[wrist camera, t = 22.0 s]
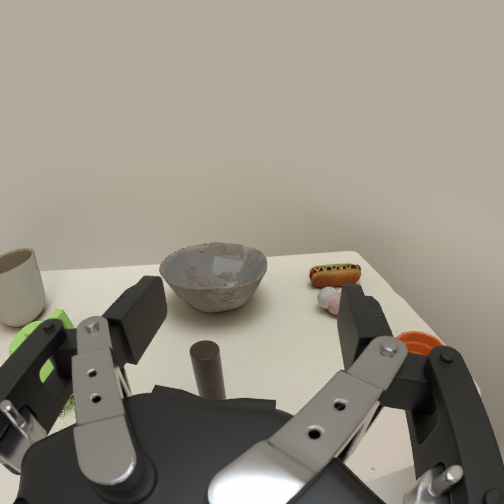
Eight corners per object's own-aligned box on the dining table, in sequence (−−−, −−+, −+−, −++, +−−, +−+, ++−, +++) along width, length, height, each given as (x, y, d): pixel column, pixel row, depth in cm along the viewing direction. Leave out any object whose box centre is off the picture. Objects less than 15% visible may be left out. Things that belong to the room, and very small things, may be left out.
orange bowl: (448, 368, 39) (456, 350, 37) (417, 398, 34) (427, 380, 33) (408, 341, 47) (414, 324, 45) (375, 365, 43) (380, 347, 41)
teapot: (66, 439, 28) (23, 381, 23) (10, 415, 28) (-29, 359, 23) (108, 355, 46) (87, 297, 41) (56, 346, 46) (34, 293, 41)
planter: (-10, 328, 47) (-32, 275, 41) (25, 296, 63) (9, 248, 57) (25, 341, 46) (0, 279, 40) (63, 302, 62) (46, 247, 56)
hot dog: (306, 281, 71) (307, 263, 69) (354, 277, 72) (356, 259, 70) (311, 291, 67) (312, 272, 65) (361, 286, 68) (364, 268, 66)
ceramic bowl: (238, 347, 50) (235, 300, 46) (146, 313, 59) (137, 272, 55) (283, 290, 68) (284, 250, 64) (203, 272, 77) (199, 237, 74)
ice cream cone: (373, 338, 54) (318, 301, 62) (386, 319, 53) (329, 282, 61) (369, 342, 50) (310, 302, 58) (382, 321, 49) (321, 282, 57)
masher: (246, 419, 34) (241, 332, 28) (240, 455, 28) (230, 376, 22) (203, 413, 35) (184, 327, 29) (192, 448, 29) (163, 367, 23)
